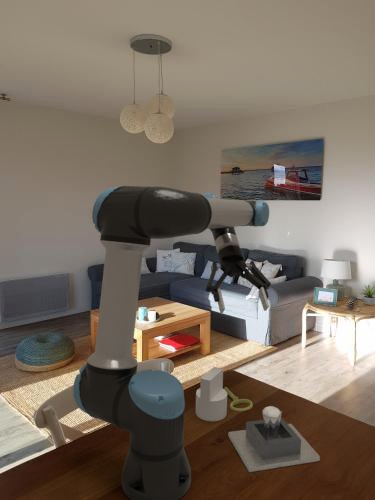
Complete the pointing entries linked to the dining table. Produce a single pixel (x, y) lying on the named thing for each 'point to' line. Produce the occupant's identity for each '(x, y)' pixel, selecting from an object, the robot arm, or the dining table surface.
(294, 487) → the dining table surface
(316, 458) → the holder
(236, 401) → the key
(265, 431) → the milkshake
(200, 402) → the base with upright slab
